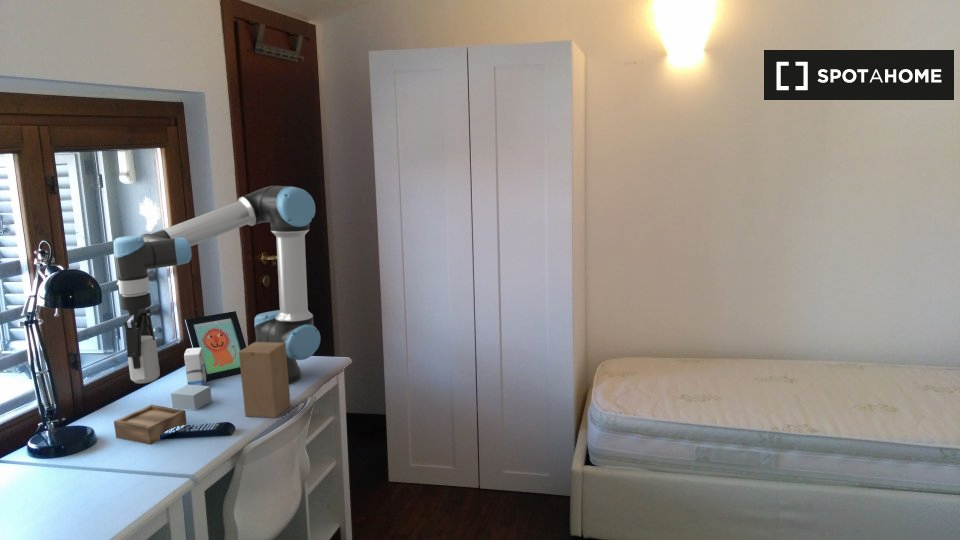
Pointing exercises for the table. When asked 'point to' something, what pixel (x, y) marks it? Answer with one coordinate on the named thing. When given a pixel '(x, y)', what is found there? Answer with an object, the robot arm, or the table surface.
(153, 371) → the can
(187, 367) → the ink box
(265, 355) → the wooden block
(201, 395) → the slate painted block
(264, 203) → the robot arm
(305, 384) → the table surface
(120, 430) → the walnut base block
